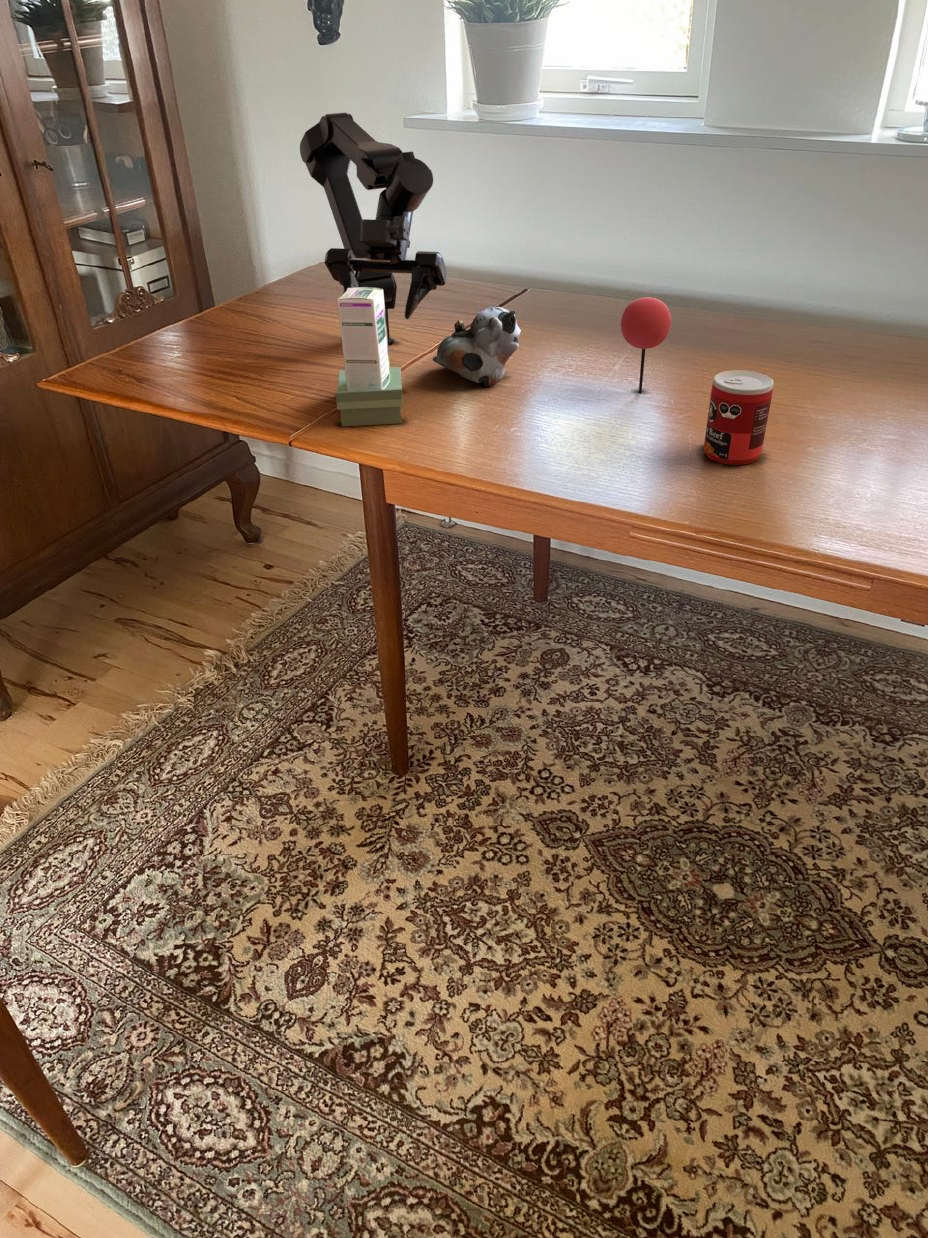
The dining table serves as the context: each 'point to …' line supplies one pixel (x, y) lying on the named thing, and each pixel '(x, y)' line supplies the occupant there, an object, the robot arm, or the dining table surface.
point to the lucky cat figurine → (481, 346)
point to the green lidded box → (370, 402)
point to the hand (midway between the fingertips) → (378, 316)
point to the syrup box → (364, 338)
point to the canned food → (737, 416)
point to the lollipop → (645, 325)
